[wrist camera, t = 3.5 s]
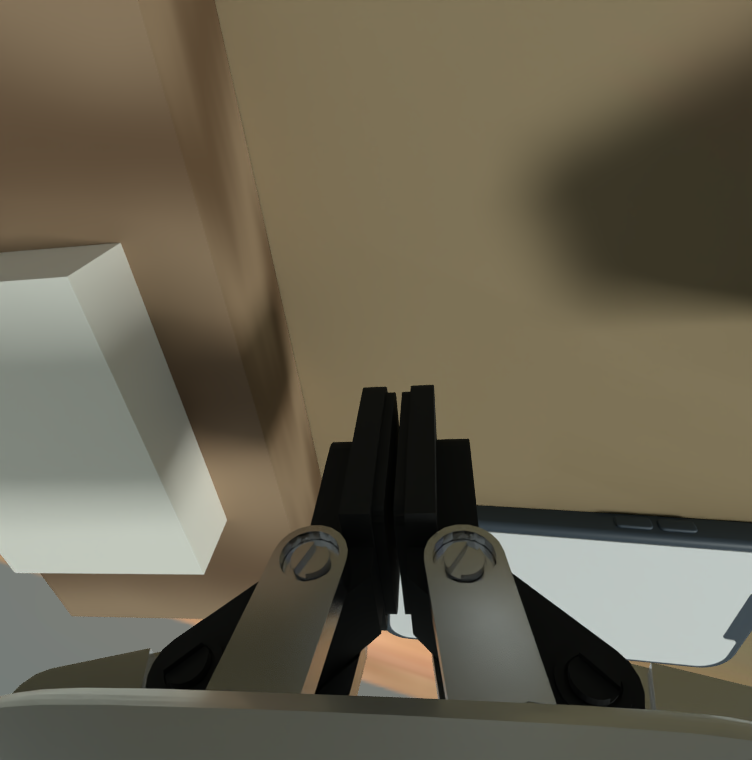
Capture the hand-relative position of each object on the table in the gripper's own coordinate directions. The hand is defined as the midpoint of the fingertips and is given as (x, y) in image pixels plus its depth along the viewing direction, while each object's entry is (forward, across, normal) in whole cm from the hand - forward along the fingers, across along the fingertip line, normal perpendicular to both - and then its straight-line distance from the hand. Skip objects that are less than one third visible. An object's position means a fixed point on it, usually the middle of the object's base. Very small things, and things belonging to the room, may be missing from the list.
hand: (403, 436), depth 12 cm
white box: (+1, +9, 0) cm, 9 cm away
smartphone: (+6, -6, +12) cm, 15 cm away
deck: (+5, +9, 0) cm, 10 cm away
